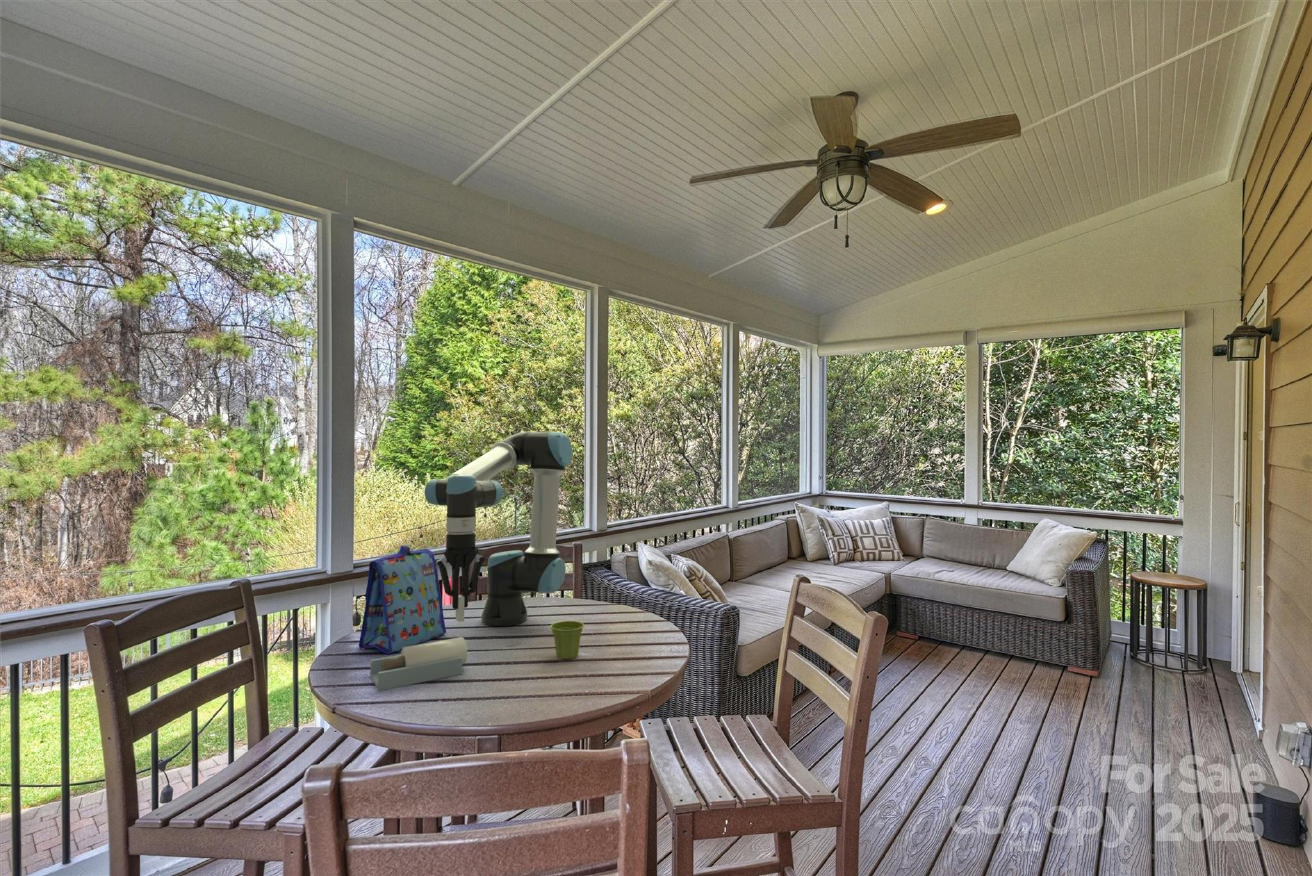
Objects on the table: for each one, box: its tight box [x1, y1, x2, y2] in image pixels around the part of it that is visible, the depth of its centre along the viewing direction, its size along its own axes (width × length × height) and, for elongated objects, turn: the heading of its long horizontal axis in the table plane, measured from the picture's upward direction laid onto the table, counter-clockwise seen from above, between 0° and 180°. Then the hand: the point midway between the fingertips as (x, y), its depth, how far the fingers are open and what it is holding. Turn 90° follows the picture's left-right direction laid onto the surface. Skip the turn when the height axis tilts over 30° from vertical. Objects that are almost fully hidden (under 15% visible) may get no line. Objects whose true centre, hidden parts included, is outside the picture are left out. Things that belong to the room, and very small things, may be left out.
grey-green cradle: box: [369, 654, 463, 692], centre depth 157 cm, size 20×11×4 cm, turn 124°
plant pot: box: [550, 620, 585, 660], centre depth 172 cm, size 9×9×9 cm
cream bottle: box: [382, 636, 468, 671], centre depth 157 cm, size 7×7×20 cm
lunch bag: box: [358, 544, 447, 655], centre depth 184 cm, size 22×14×29 cm, turn 154°
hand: (459, 620), depth 163 cm, fingers closed
